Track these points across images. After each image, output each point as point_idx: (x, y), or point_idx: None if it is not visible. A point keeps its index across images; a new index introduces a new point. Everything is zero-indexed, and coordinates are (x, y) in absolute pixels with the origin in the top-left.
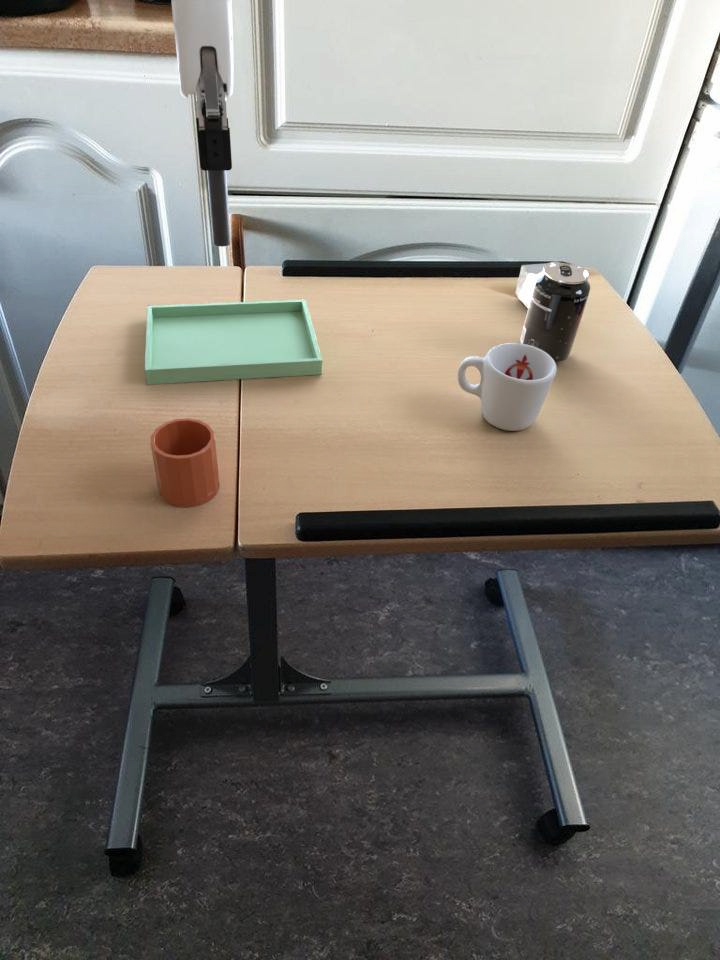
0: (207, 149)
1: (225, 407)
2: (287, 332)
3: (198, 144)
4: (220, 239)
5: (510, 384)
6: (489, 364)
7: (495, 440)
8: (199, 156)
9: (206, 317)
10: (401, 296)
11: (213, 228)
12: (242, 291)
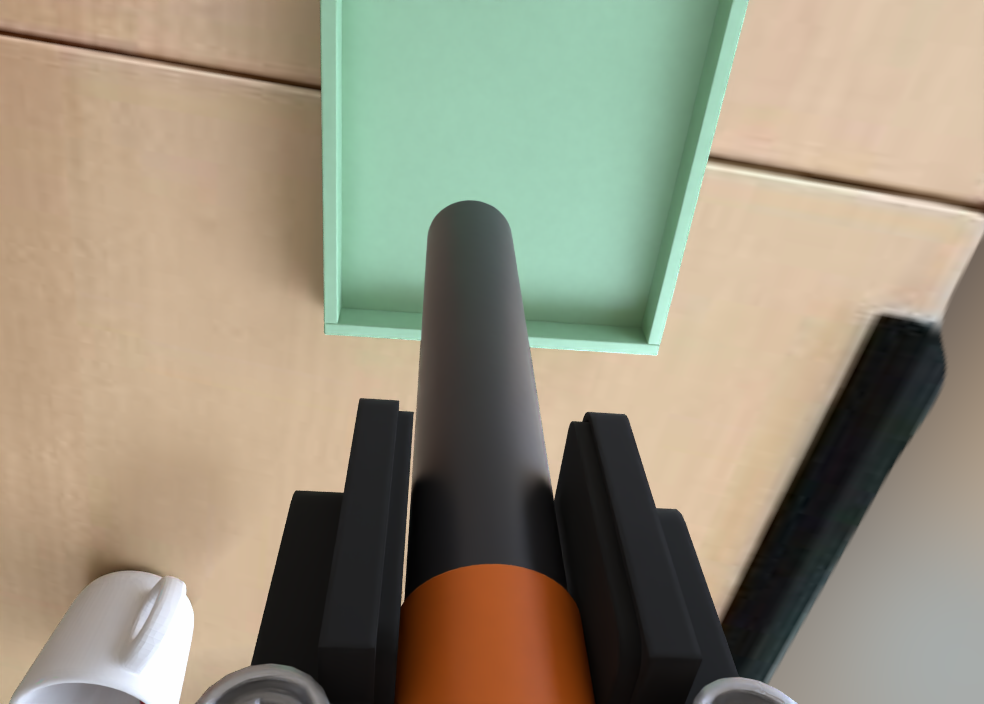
0: (276, 563)
1: (182, 19)
2: (537, 269)
3: (339, 528)
4: (427, 244)
5: (19, 684)
6: (72, 678)
7: (65, 564)
8: (353, 455)
9: (695, 36)
10: None
11: (446, 239)
12: (841, 181)
